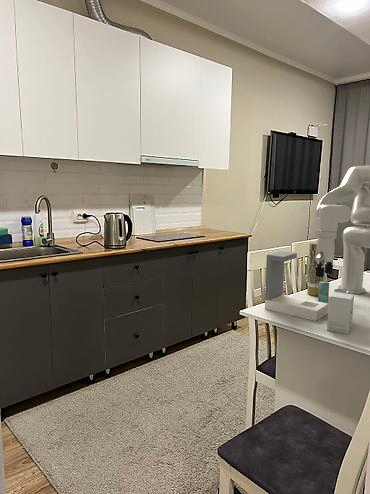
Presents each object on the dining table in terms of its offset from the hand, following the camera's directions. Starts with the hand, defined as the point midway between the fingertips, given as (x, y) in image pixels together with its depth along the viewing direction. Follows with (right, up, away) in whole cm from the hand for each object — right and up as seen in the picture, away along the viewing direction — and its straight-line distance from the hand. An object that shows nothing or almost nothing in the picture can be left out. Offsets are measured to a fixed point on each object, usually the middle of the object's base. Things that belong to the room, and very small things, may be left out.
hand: (324, 274), depth 158 cm
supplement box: (-4, -18, -25) cm, 31 cm away
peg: (0, -13, +3) cm, 14 cm away
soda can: (0, -17, -17) cm, 24 cm away
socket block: (-14, -14, -5) cm, 20 cm away
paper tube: (+3, -11, +19) cm, 22 cm away
